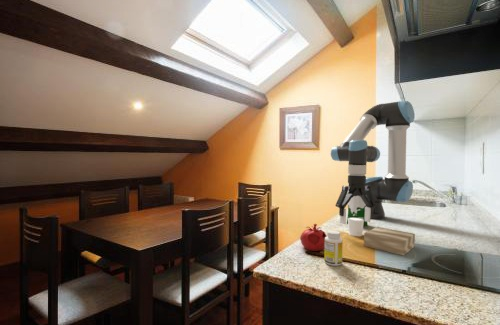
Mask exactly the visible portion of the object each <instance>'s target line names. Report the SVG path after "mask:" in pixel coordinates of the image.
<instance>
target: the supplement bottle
mask: <svg viewBox="0 0 500 325" xmlns="http://www.w3.org/2000/svg"><path fill="white" fill-rule="evenodd" d="M326 236H327V237H325V249H324V257H323V258H324V260H323V261H324V263H325V264H326V265H327V266H331V267H338V266H341V265H342V264H343V244H344V243H343V241H344V239H342V237H341V231H338V230H330V229H329V230H327V233H326Z"/></svg>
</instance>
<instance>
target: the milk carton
mask: <svg viewBox="0 0 500 325" xmlns="http://www.w3.org/2000/svg"><path fill="white" fill-rule="evenodd" d="M364 192H365V190H364ZM347 193H348V192H347ZM365 194H366V193H365ZM365 207H367V206H366V204H365V203H364V201H363V200H362V198H361V197H360V196H354V197H352V198H351V200H350V201H349V203H348V204H347V217H346V225H348V218H361V219H364V225H363V227H368V222H366V221H365Z"/></svg>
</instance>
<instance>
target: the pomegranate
mask: <svg viewBox="0 0 500 325" xmlns="http://www.w3.org/2000/svg"><path fill="white" fill-rule="evenodd" d="M317 225H318V224H317V223H313V225H312V226H311V227H310V226H306V227H305V229H304V230H303V231H302V232H301V235H300V237H299V241H300V242H301V245H302V247H304V248H305V249H306V250H308V251H311V252H319V251H323V250H325V237H327V233H326V232H325V231H323V230H322V229H321V227H317Z"/></svg>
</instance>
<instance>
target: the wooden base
mask: <svg viewBox="0 0 500 325" xmlns="http://www.w3.org/2000/svg"><path fill="white" fill-rule="evenodd" d="M415 237H416V233H413V232H408V231H402V230H396V229H392V228H385V227H380V226H377V227H374V228H372V229H370V230H368V231H366V232H364V236H363V246H364V247H367V248H371V249H376V250H379V251H383V252H388V253H392V254H397V255H401V256H405V255H406V254H407V253H409V252H410V251H411V250H412V249H413V248H415V243H416V240H415V239H416V238H415Z"/></svg>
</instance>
